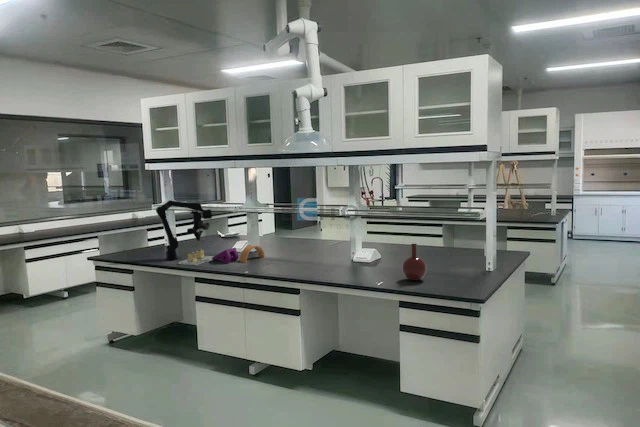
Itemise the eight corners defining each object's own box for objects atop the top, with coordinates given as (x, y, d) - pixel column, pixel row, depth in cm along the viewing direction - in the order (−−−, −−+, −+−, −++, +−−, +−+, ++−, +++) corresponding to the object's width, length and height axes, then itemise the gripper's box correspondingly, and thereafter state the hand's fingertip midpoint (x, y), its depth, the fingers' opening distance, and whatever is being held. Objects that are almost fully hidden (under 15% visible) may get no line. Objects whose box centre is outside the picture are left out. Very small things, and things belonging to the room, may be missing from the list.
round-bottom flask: (399, 282, 256) (398, 245, 254) (405, 276, 268) (404, 241, 266) (423, 283, 250) (423, 246, 248) (428, 278, 262) (428, 242, 260)
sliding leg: (196, 257, 333) (195, 249, 332) (199, 256, 337) (199, 248, 336) (201, 258, 332) (200, 249, 331) (204, 257, 335) (203, 248, 335)
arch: (265, 257, 338) (264, 243, 337) (245, 262, 322) (245, 248, 321) (258, 257, 341) (258, 243, 340) (239, 262, 325) (238, 247, 324)
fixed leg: (188, 261, 324) (187, 252, 324) (191, 260, 328) (191, 251, 328) (193, 261, 323) (192, 252, 322) (196, 260, 327) (196, 251, 326)
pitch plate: (178, 264, 323) (178, 261, 322) (199, 257, 345) (199, 255, 345) (196, 265, 318) (195, 262, 318) (215, 258, 340) (215, 255, 340)
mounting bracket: (213, 270, 328) (230, 261, 319) (209, 259, 329) (225, 249, 320) (223, 267, 336) (239, 258, 327) (218, 256, 337) (235, 247, 328)
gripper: (199, 221, 334) (200, 243, 336) (213, 218, 352) (214, 239, 353) (186, 221, 338) (187, 242, 340) (201, 218, 356) (202, 238, 357)
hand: (198, 240), depth 347 cm, fingers closed
